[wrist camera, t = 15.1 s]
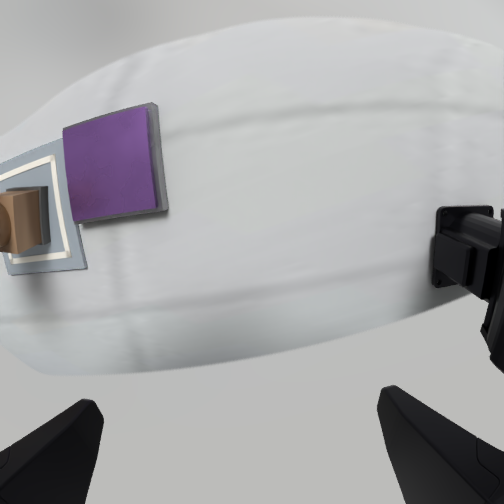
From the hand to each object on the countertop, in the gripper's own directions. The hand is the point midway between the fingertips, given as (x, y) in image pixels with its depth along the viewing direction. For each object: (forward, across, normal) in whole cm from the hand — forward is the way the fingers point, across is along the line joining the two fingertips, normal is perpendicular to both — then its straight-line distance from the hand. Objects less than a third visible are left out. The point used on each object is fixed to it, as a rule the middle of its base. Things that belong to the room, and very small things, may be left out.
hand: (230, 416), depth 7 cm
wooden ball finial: (+13, +17, -6) cm, 22 cm away
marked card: (+13, +17, -6) cm, 22 cm away
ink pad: (+13, +8, -8) cm, 17 cm away
